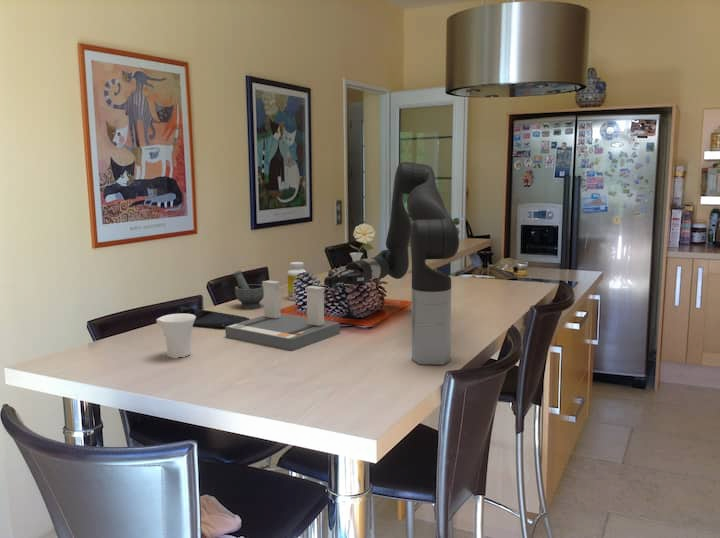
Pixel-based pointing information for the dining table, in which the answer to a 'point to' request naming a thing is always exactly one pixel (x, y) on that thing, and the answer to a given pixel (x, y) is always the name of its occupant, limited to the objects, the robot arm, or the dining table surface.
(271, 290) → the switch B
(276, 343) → the grey flat block
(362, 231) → the flower in vase
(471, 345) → the dining table surface
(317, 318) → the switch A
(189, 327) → the cup
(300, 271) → the supplement bottle
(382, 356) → the dining table surface
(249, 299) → the mortar and pestle
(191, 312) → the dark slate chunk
